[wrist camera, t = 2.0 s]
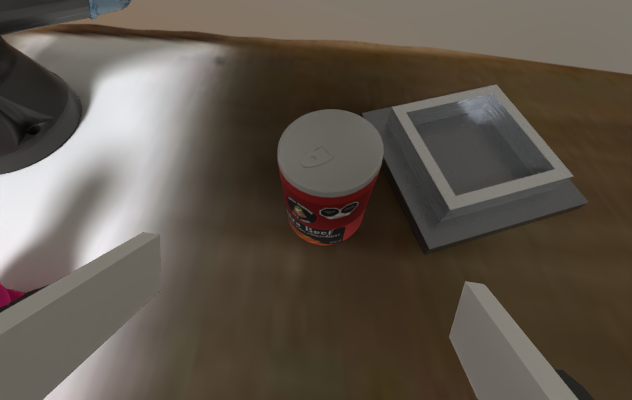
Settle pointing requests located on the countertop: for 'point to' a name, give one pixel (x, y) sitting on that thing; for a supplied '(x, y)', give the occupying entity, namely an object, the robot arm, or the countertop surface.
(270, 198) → the countertop surface
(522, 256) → the countertop surface
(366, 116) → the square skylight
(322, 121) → the canned food
